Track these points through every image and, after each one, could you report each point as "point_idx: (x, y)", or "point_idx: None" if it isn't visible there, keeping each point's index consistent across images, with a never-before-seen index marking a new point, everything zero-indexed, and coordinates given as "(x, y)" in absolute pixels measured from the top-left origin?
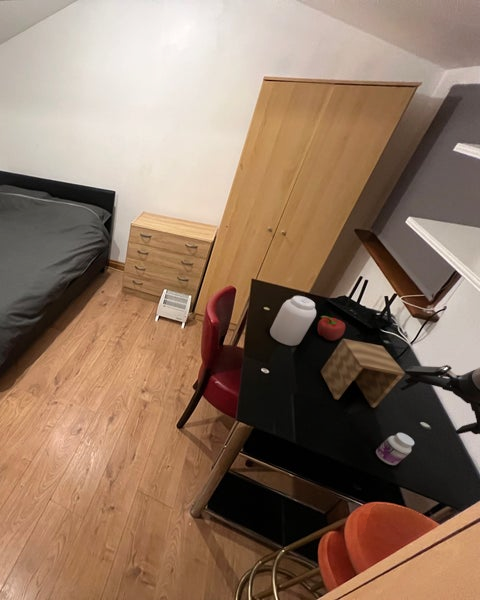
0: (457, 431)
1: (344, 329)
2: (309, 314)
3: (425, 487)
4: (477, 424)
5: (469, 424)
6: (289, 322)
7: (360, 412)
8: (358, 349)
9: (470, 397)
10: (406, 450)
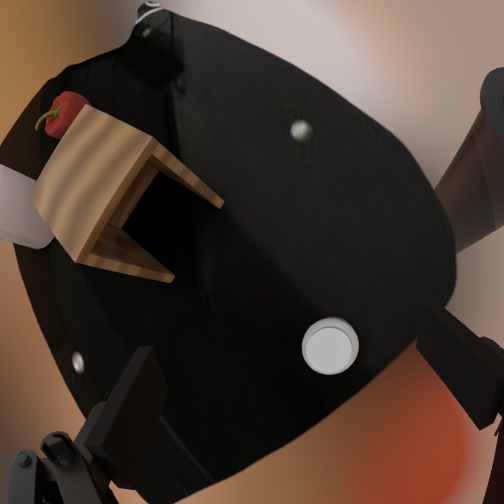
0: (424, 356)
1: (75, 98)
2: None
3: (414, 326)
4: (490, 408)
5: (448, 336)
6: (2, 234)
7: (220, 257)
8: (54, 193)
9: None
10: (351, 360)
